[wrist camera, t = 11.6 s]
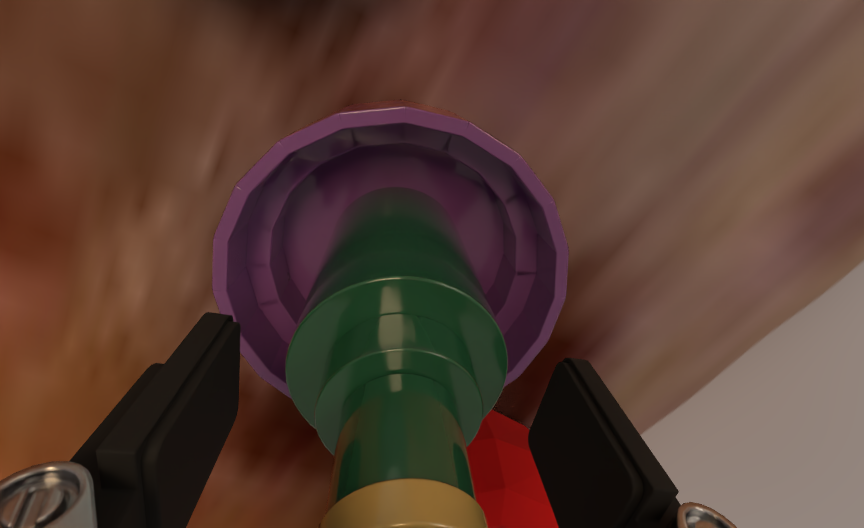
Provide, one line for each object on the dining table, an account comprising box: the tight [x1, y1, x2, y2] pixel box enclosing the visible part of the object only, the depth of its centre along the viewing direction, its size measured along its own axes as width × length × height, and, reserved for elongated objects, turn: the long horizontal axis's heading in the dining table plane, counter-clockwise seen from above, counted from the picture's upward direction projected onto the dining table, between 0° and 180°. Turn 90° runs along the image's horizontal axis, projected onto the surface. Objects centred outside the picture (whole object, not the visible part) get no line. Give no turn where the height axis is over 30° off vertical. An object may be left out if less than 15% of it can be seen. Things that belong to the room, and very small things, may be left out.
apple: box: [467, 410, 559, 528], centre depth 21 cm, size 11×11×10 cm
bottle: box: [285, 187, 508, 528], centre depth 13 cm, size 6×6×14 cm
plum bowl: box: [212, 99, 569, 399], centre depth 17 cm, size 13×13×5 cm
